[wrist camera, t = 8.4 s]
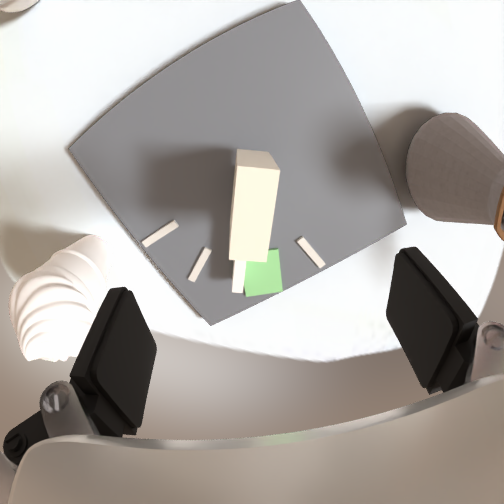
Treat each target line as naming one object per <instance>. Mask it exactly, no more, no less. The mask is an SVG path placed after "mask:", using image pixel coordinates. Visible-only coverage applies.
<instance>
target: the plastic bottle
mask: <svg viewBox="0 0 504 504" xmlns="http://www.w3.org/2000/svg"><path fill="white" fill-rule="evenodd" d="M37 1H39V0H0V10H1V11H4V12H20V11H23V10H25V9H27V8H29V7H31V6H32V5H34V4H35V3H36V2H37Z"/></svg>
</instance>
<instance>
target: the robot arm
mask: <svg viewBox="0 0 504 504" xmlns="http://www.w3.org/2000/svg"><path fill="white" fill-rule="evenodd" d="M386 316H387V320H388V322H389V323H390V325H391V327H392V329H393V331H394V333H395V335H396V336H397V338H398V340H399V342H400V344H401V346H402V348H403V350H404V352H405V353H406V356H407V358H408V360H409V362H410V364H411V365H412V368H413V370H414V372H415V374H416V376H417V378H418V380H419V382H420V384H421V386H422V387H423V388H426V389H427V391H428V393H429V395H430V394H432V393H435V392H438V391H440V390H442V391H443V393H442V394H439V395H436V396H433V397H431V398H428V399H425V400H422V401H419V402H416V403H413V404H411V405H407V406H404V407H401V408H398V409H394V410H391V411H388V412H385V413H381V414H377V415H374V416H370V417H366V418H362V419H358V420H354V421H350V422H345V423H341V424H336V425H332V426H327V427H322V428H316V429H311V430H305V431H299V432H292V433H285V434H278V435H269V436H260V437H250V438H237V439H220V440H156V439H135V438H122V435H123V434H126V435H136V432H137V428H139V427H140V426H141V424H142V419H143V414H144V409H145V403H146V398H147V393H148V388H149V384H150V379H151V374H152V370H153V365H154V361H155V356H156V351H157V347H156V343H155V340H154V339H153V336H152V334H151V332H150V330H149V328H148V326H147V324H146V322H145V319H144V317H143V315H142V313H141V311H140V308H139V306H138V304H137V302H136V299H135V297H134V295H133V293H132V291H130V290H129V291H128V289H127V288H126V287H119V288H111V289H110V290H109V291H108V293H107V295H106V297H105V299H104V301H103V303H102V305H101V307H100V309H99V311H98V313H97V315H96V317H95V319H94V321H93V323H92V325H91V328H90V330H89V332H88V334H87V336H86V338H85V341H84V343H83V345H82V347H81V350H80V352H79V354H78V356H77V359H76V361H75V363H74V366H73V368H72V371H71V373H70V377H71V380H70V382H69V383H68V382H67V381H56V382H54V383H52V384H50V385H49V386H48V387H47V388H46V389H45V390H44V391H43V393H42V395H41V397H40V402H39V403H40V411H38V412H37V413H35V414H34V415H32V416H31V417H30V418H28V419H27V420H25V421H24V422H22V423H21V424H19V425H18V426H16V427H15V428H13V429H12V430H11V431H9V433H8V434H7V435H6V437H5V440H4V444H3V449H4V453H2V452H1V451H0V504H504V325H502V324H500V323H498V322H493V321H489V322H485V323H483V324H481V325H480V326H479V325H478V324H477V320H478V318H477V317H476V316H475V314H474V313H473V312H472V311H471V309H470V308H469V307H468V306H467V304H466V303H465V302H464V301H463V299H462V298H461V297H460V296H459V294H458V293H457V292H456V291H455V290H454V288H453V287H452V286H451V285H450V284H449V283H448V281H447V280H446V279H445V278H444V277H443V276H442V275H441V273H440V272H439V271H438V270H437V269H436V268H435V267H434V266H433V264H432V263H431V262H430V261H429V260H428V259H427V258H426V257H425V256H424V255H423V254H422V252H421V251H420V250H419V249H418V248H417V247H409V248H403V249H401V250H400V251H399V253H397V254H396V256H395V262H394V269H393V275H392V282H391V287H390V293H389V299H388V304H387V309H386Z"/></svg>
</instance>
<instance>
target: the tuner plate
mask: <svg viewBox="0 0 504 504" xmlns="http://www.w3.org/2000/svg"><path fill="white" fill-rule="evenodd" d="M237 149H244V150H255V151H264V152H269V153H270V155H271V156H272V158H273V159H274V161H275V163H276V164H277V166H278V167H279V169H280V175H279V182H278V189H277V196H276V203H275V209H274V216H273V223H272V229H271V236H270V242H269V249H268V255H267V262H255V261H246V269H245V278H244V286H243V293H234V292H232V275H233V264H234V260H229V237H230V216H231V205H232V194H233V178H234V173H235V163H236V153H237ZM69 150H70V151H71V153H72V154H73V156H74V157H75V159H76V160H77V162H78V163H79V165H80V166H81V167H82V169H83V170H84V172H85V173H86V175H87V176H88V177H89V179H90V180H91V182H92V183H93V184H94V186H95V187H96V188H97V190H98V191H99V193H100V194H101V195H102V197H103V198H104V199H105V201H106V202H107V203H108V205H109V206H110V207H111V209H112V210H113V211H114V213H115V214H116V215H117V216H118V218H119V219H120V220H121V222H122V223H123V224H124V226H125V227H126V228H127V229H128V231H129V232H130V233H131V234H132V236H133V237H134V238H135V239H136V241H137V242H138V243H139V244H140V246H141V247H142V248H143V249H144V250H145V252H146V253H147V254H148V255H149V257H150V258H151V259H152V260H153V261H154V263H155V264H156V265H157V266H158V267H159V269H160V270H161V271H162V272H163V273H164V274H165V276H166V277H167V278H168V279H169V280H170V281H171V283H172V284H173V285H174V286H175V287H176V288H177V289H178V291H179V292H180V293H181V294H182V295H183V296H184V297H185V298H186V300H187V301H188V302H189V303H190V304H191V305H192V306H193V307H194V308H195V310H196V311H197V312H198V313H199V314H200V315H201V316H202V317H203V318H204V319H205V320H206V322H207V323H208V324H209V325H210V326H212V325H214V324H216V323H218V322H220V321H222V320H225V319H227V318H229V317H231V316H233V315H235V314H237V313H239V312H241V311H243V310H246V309H248V308H250V307H252V306H254V305H256V304H258V303H260V302H262V301H264V300H266V299H268V298H270V297H272V296H274V295H276V294H278V293H280V292H283V291H284V290H286V289H288V288H290V287H292V286H294V285H296V284H298V283H300V282H302V281H304V280H306V279H308V278H310V277H312V276H314V275H315V274H317V273H319V272H321V271H323V270H325V269H327V268H329V267H331V266H333V265H335V264H336V263H338V262H340V261H342V260H344V259H346V258H348V257H349V256H351V255H353V254H355V253H357V252H359V251H360V250H362V249H364V248H366V247H368V246H370V245H371V244H373V243H375V242H377V241H379V240H380V239H382V238H384V237H386V236H387V235H389V234H391V233H393V232H394V231H396V230H398V229H400V228H401V227H403V226H405V225H407V223H406V220H405V217H404V214H403V210H402V207H401V204H400V201H399V198H398V195H397V192H396V189H395V186H394V183H393V180H392V178H391V175H390V172H389V169H388V167H387V164H386V161H385V159H384V156H383V154H382V151H381V149H380V146H379V144H378V141H377V139H376V137H375V134H374V132H373V130H372V127H371V125H370V123H369V121H368V118H367V116H366V114H365V112H364V110H363V108H362V106H361V103H360V101H359V99H358V97H357V95H356V93H355V91H354V89H353V87H352V85H351V83H350V81H349V79H348V78H347V76H346V74H345V72H344V70H343V68H342V66H341V65H340V63H339V61H338V59H337V58H336V56H335V54H334V52H333V51H332V49H331V47H330V45H329V44H328V42H327V40H326V39H325V37H324V36H323V34H322V32H321V31H320V29H319V28H318V26H317V25H316V23H315V21H314V20H313V18H312V17H311V15H310V14H309V12H308V11H307V9H306V8H305V7H304V5H303V4H302V2H301V1H300V0H296V1H293V2H291V3H288V4H286V5H283V6H281V7H278V8H276V9H273V10H271V11H269V12H266V13H264V14H262V15H260V16H257V17H255V18H253V19H251V20H249V21H247V22H245V23H243V24H240V25H238V26H236V27H234V28H233V29H231V30H229V31H227V32H225V33H223V34H221V35H219V36H217V37H216V38H214V39H212V40H210V41H208V42H207V43H205V44H203V45H201V46H200V47H198V48H196V49H195V50H193V51H191V52H190V53H188V54H187V55H185V56H183V57H182V58H180V59H179V60H177V61H176V62H174V63H172V64H171V65H169V66H168V67H166V68H165V69H164V70H162V71H161V72H159V73H158V74H156V75H155V76H153V77H152V78H151V79H149V80H148V81H147V82H145V83H144V84H142V85H141V86H140V87H138V88H137V89H136V90H135V91H133V92H132V93H131V94H129V95H128V96H127V97H126V98H124V99H123V100H122V101H121V102H119V103H118V104H117V105H116V106H114V107H113V108H112V109H111V110H110V111H109V112H107V113H106V114H105V115H104V116H103V117H102V118H100V119H99V120H98V121H97V122H96V123H95V124H94V125H93V126H92V127H90V128H89V129H88V130H87V131H86V132H85V133H84V134H83V135H82V136H81V137H80V138H79V139H78V140H77V141H76V142H75V143H74V144H73V145H72V146H71V147H70V148H69Z"/></svg>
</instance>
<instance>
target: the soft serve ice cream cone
mask: <svg viewBox="0 0 504 504" xmlns="http://www.w3.org/2000/svg"><path fill="white" fill-rule="evenodd" d="M111 262H112V251H111V248H110V246H109V245H108V243H107V242H106V241H105V240H104V239H102V238H101V237H99V236H95V235H87V236H85V237H83V238H81V239H80V240H78V241H76V242H75V243H73V244H71V245H70V246H68V247H66V248H65V249H62V250H59V251H57V252H55V253H54V254H53V255H52V256H51V257H50V259H49V260H48V261H47V262H46V263H45V264H43V265H42V266H40V267H38V268H37V269H35V270H34V271H32V272H29V273H27V274H25V275H24V276H22V277H21V278H20V279H19V280H18V281H17V282H16V283H15V285H14V286H13V288H12V291H11V294H10V298H9V315H10V318H11V322H12V325H13V327H14V330H15V332H16V335H17V337H18V342H19V346H20V349H21V351H22V354H23V355H24V357H25V358H26V359H27V360H28V361H30V360H35V359H38V358H41V359H43V360H47V361H48V360H50V361H52V362H56V361H57V360H58V359H59V360H61V361H66V360H67V358H68V357H69V356H73V357H77V356H78V354H79V352H80V350H81V347H82V345H83V343H84V341H85V338H86V336H87V334H88V332H89V330H90V328H91V325H92V323H93V321H94V319H95V317H96V315H97V310H98V308H99V305H100V302H101V301H102V300H103V298H104V296H105V291H106V281H107V277H108V273H109V269H110V266H111Z"/></svg>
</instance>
